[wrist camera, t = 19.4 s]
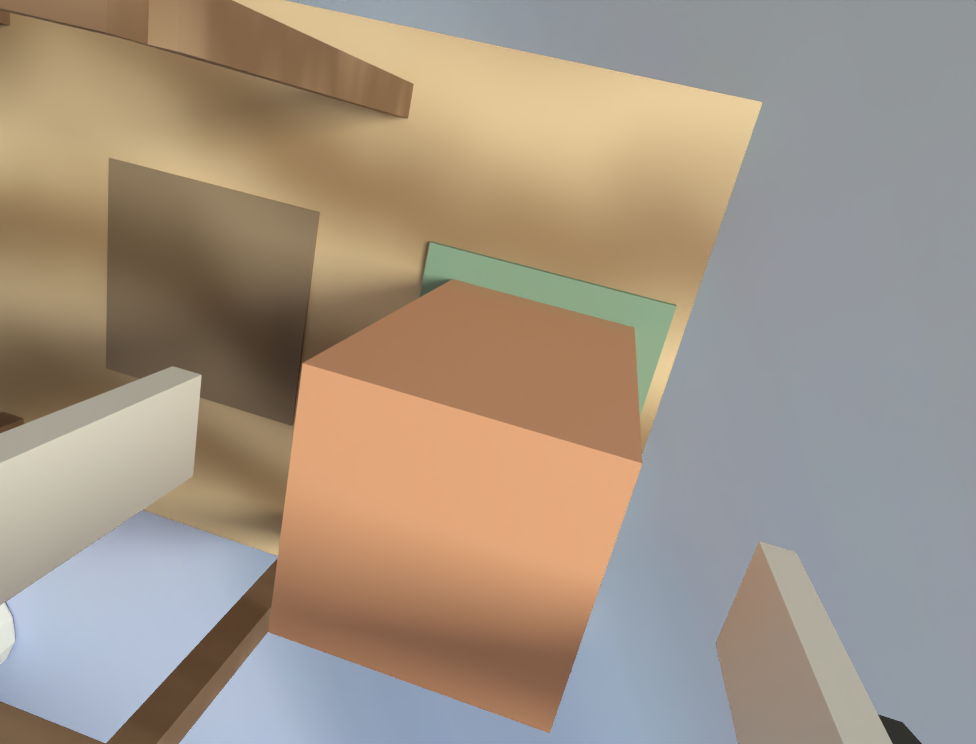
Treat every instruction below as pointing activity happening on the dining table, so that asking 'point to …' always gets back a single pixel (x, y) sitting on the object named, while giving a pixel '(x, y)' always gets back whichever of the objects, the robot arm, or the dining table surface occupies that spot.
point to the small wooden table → (302, 226)
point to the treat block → (460, 495)
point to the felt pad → (559, 298)
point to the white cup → (6, 632)
